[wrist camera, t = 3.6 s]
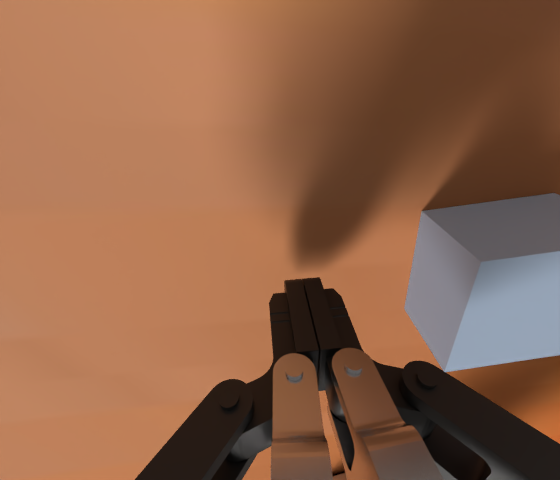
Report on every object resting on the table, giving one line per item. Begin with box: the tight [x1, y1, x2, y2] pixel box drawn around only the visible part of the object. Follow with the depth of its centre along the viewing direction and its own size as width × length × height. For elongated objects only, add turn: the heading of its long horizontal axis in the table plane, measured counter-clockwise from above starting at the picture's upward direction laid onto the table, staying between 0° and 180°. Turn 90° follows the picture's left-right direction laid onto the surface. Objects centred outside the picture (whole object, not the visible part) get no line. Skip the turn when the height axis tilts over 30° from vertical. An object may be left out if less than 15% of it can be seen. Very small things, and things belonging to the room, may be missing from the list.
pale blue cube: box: [404, 193, 560, 372], centre depth 13 cm, size 6×6×4 cm
